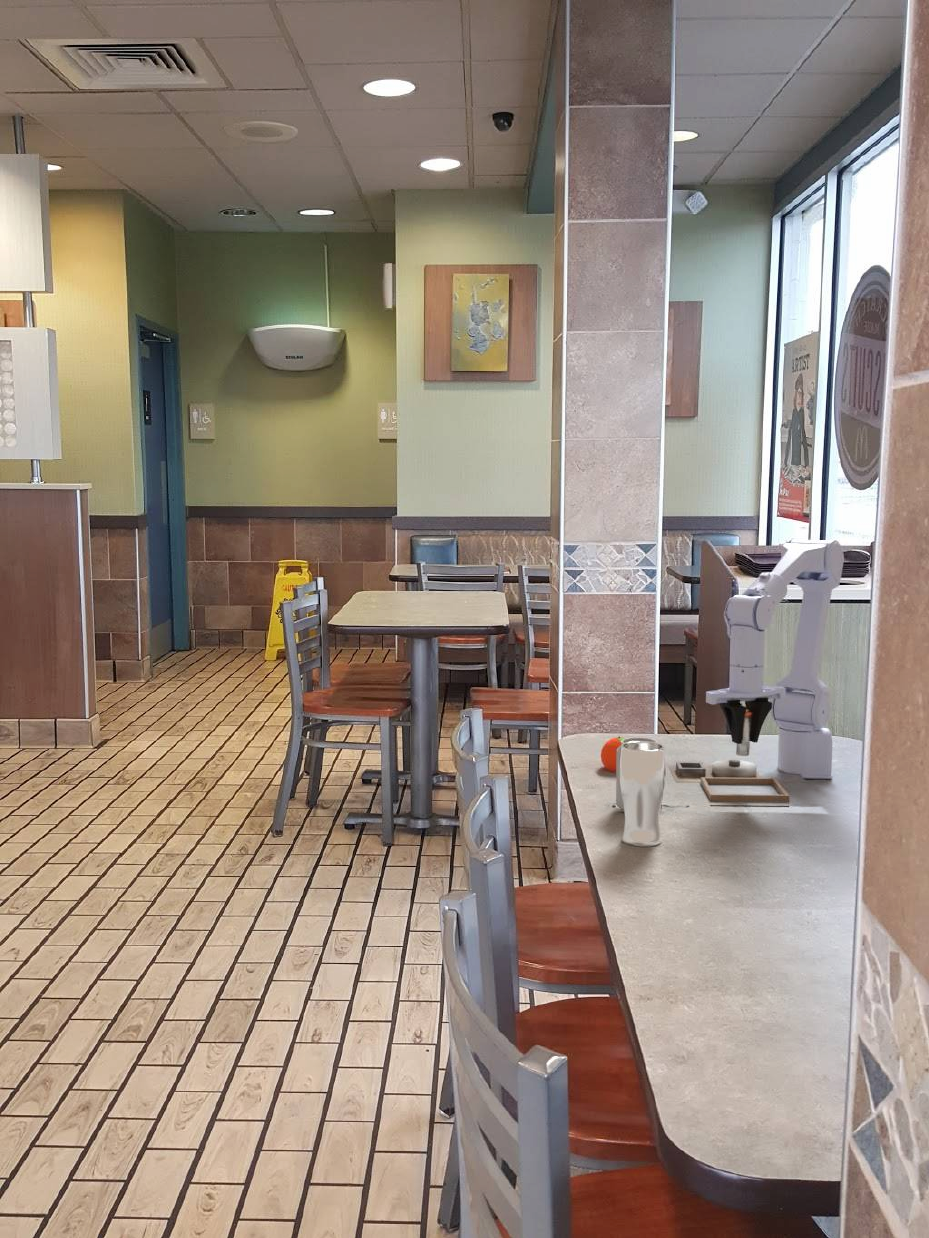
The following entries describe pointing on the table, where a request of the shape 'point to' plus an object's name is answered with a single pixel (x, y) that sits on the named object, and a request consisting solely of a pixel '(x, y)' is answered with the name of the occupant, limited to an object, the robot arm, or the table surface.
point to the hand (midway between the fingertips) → (744, 741)
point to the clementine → (610, 753)
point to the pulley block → (713, 770)
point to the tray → (744, 797)
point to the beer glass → (642, 791)
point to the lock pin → (745, 735)
